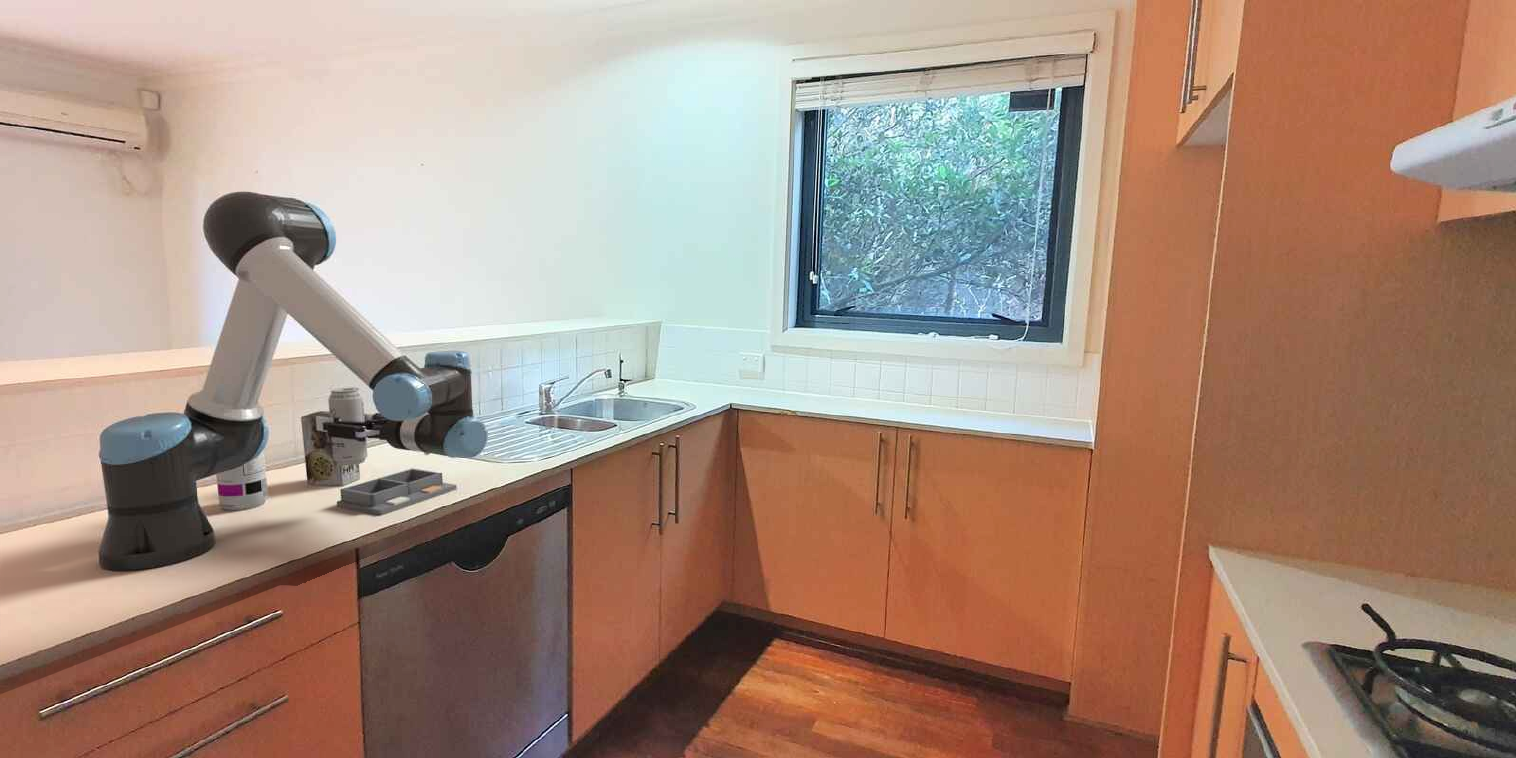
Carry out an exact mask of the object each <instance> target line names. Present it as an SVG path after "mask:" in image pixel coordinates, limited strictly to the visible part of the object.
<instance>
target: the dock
mask: <svg viewBox="0 0 1516 758" xmlns="http://www.w3.org/2000/svg"><path fill="white" fill-rule="evenodd" d="M443 479H444V478H443V473H442V472H438V471H437V472H436V471H430V470H424V469H419V468H410V469H406V470H404V471H403V470H402V471H399V472H396V473H392V474H389V475H385V476H382V477H379V478H375V479H372V480H368V481H365V482H361V483H358V484H357V483H356V484H354V485H351V486H347V487H344V488H340V500H337V501H336V507H339V508H344V509H349V510H355V511H359V512H365V513H369V514H373V515H378V516H384V515H386V514H389V513H391V512H395V511H398V510H400V509H403V508H407V507H409V506H412V505H415V504H418V503H420V502H423V501H427V500H429V499H432V498H435V497H438V495H439V496H441V495H444V494H447V493H450V492H452V491H451V490H453V491H456V490H458V487H457V484H453V483H447V482H443ZM455 489H456V490H455ZM449 491H450V492H449ZM446 492H447V493H446Z"/></svg>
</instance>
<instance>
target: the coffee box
mask: <svg viewBox="0 0 1516 758" xmlns="http://www.w3.org/2000/svg"><path fill="white" fill-rule="evenodd" d="M319 416H320V417H327V418H330V413H329V410H327V411H322V410H320V411H317V412H316V411H315V412H312V413H309V414H307V415H302V416H301V417H300V421H301V430H302V431H301V433H302V441H303V453H304V462H305V471H306V474H305V475H306V484H307V485H310V486H313V485H314V486H343V487H344V486H346V485H348V484H351V483H353V482H355V481H358V480H360V479H361V475H360V464H356V465H348V466H341V465H337V462H336V461H334V460H333V449H332V437H328V433H327V432H324V431H317V426H316V417H319Z"/></svg>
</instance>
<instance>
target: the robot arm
mask: <svg viewBox="0 0 1516 758" xmlns="http://www.w3.org/2000/svg"><path fill="white" fill-rule="evenodd" d="M202 230H203V234H204V239H205V241H206V242H207V244H208V247H209V248H210V250H211V252H212V253H213V254H214V255H215V257H217V259H218V260H219V261H220V262H221V264H223V266H224V267H225V268H227V270H229V271H230V272H231V273H232V274H233V275H235V276H236V277H237V278H238V279H237V283H236V287H235V289H234V292H233V295H232V297H231V302H230V303H229V308H228V309H227V310H228V311H227V313H226V317H225V319H224V322H223V325H222V327H221V331H220V334H219V338H218V340H217V343H216V346H215V350H214V353H213V356H212V359H211V362H210V364H209V368H208V371H207V373H206V377H205V379H204V380H205V381H204V383H203V386H202V389H201V390H199V391H197V392H195V393H192V394H190V395H189V396H188V398H187V402H186V405H185V409H184V410H183V413H181V412H168V411H167V412H157V413H149V414H145V415H138V416H133V417H130V418H129V417H128V418H126V419H123V420H119V421H116V422H114V423H112V424H110V425H108V426H107V427H105V429H103V430H102V432H101V433H100V435H99V453H98V458H99V460H100V466H101V471H102V479H103V485H104V492H105V500H106V506H107V507H106V508H107V515H108V516H107V517H108V518H107V521H106V525H105V529H104V532H103V535H102V538H101V540H100V545H99V548H98V553H97V554H98V563H99V566H100V568H102V569H106V570H108V571H109V570H111V571H135V570H136V571H137V570H145V569H152V568H158V567H162V566H167V565H171V564H176V563H180V562H183V561H186V560H189V559H192V558H195V557H198V556H199V555H202V554H204V553H206V552H208V551H209V550H210V549H211V550H212V549H213V548H214V546H215V544H216V536H215V531H214V528H213V527H212V525H211V523H210V521H209V520H208V517H207V516H206V514H205V512H204V511H203V509H202V506H201V505H200V503H199V498H198V487H197V481H200V480H203V479H206V478H209V477H212V476H215V475H216V474H218V473H221V472H224V471H227V470H232V469H235V468H237V467H240V466H242V465H244V464H246V463H248V462H250V461H252V460H253V459H255V458H256V457H257V456H258V455H259V454H260V453H261V452H262V451H263V450H264V449H265V448H266V446H267V444H268V441H269V433H270V432H269V430H270V429H269V426H267V425H266V422H267V420H266V419H265V417H264V413H265V412H264V411H265V410H264V407H262V405H261V404H260V402H259V398H260V395H261V392H262V389H263V386H264V384H265V381H266V379H267V375H268V373H269V369H270V366H271V365H272V360H273V357H274V355H275V352H276V350H277V346H278V343H279V341H280V338H281V334H282V332H283V328H284V326H285V323H286V322H287V321H286V320H287V317H288V315H289V316H290V317H291V318H292V319H293V320H294V321H296V322H297V323H298V324H299V325H300V326H301V327H302V328H303V329H305V330H306V332H308V333H309V334H310V335H311V336H312V337H313V338H314V339H315V340H316V341H317V342H318V343H320V344H321V345H322V346H323V347H324V348H325V349H326V350H328V352H330V353H331V354H332V355H333V356H334V357H335V358H336V359H337V360H338V361H340V362H341V363H342V364H343V365H344V366H345V367H346V368H347V369H348V370H350V371H351V372H352V373H353V374H354V375H355V376H356V377H358V379H360V380H361V381H362V382H363V383H364V384H365V385H366V386H367V387H369V389H370V390H372V402H373V403H374V406H375V409H376V410H377V412H376V413H372V412H365V411H364V415H365V422H355V421H341V419H339V417H335V418H327V417H320V416H319V417H316V426H317V431H324V432H327V433H328V437H336V438H344V439H353V440H357V441H361V442H363V441H365V440H366V441H367V439H378V440H381V441H386V442H387V444H389V445H390V446H391V447H392V448H394V449H398V450H401V451H402V450H404V451H412V452H418V453H419V452H420V453H423V454H424V456H428V455H430V454H432V455H433V454H434V455H437V456H438V455H439V456H444V457H449V458H452V459H455V458H457V459H472V458H475V457H476V456H478V455H479V454H481V453H482V452H483V450H484V449H485V447H486V446H487V443H488V438H489V437H488V436H489V434H488V428H487V427H486V425H485V423H484V422H483V421H482V420H481V419H479V418H476V417H474V409H473V392H472V391H473V390H472V372H473V371H472V369H471V363H470V362H471V361H470V356H469V354H468V352H465V351H462V350H438V351H437V350H436V351H430V352H428V353H427V354H426V355H425V357H424V365H423V366H424V367H419V366H417V364H415V363H414V362H413V361H412V360H411V359H410V358H408V356H406V354H404V353H403V352H402V351H401V350H400V349H399V348H398V347H397V346H396V345H395V344H393V342H391V340H389V339H388V338H387V337H386V336H385V335H384V334H383V333H382V332H381V331H379V330H378V328H376V327H375V326H374V325H373V324H372V323H371V322H370V321H369V320H368V319H367V318H365V317H364V315H362V314H361V313H360V312H359V311H358V310H357V309H355V307H354V306H352V305H351V304H350V303H349V302H348V301H347V300H346V299H345V298H344V297H343V296H342V295H340V294H339V293H338V291H336V290H335V289H334V288H333V287H332V286H331V285H330V284H329V283H328V282H327V281H326V280H324V279H323V278H322V277H321V276H320V275H319V274H318V273H317V272H316V271H314V270H315V266H318V265H321V264H323V263H324V262H326V261H328V260H329V259H330V258H331V257H332V255H333V254H334V252H335V250H336V249H335V248H336V244H337V235H336V230H335V227H334V225H333V224H332V222H331V220H330V217H329V216H328V215H327V214H326V212H324V211H323V210H322V209H321V208H320V207H318V206H316V205H315V204H312V203H310V202H306V201H303V200H300V199H298V198H294V197H285V196H278V195H268V194H263V193H258V192H251V191H235V192H229V193H227V194H223V195H222V196H220V197H219V198H217V199H216V200H214V201H213V202H212V203H211V204H210V205H209V207H208V208H207V210H206V212H205V214H204V217H203V224H202Z"/></svg>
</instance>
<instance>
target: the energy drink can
mask: <svg viewBox="0 0 1516 758" xmlns="http://www.w3.org/2000/svg"><path fill="white" fill-rule="evenodd" d="M330 392H331V393H330V395H329V397H328V399H327V400H328V411H329V413H330V418H335V417H339V419H341V421H355V422H365V415H364V412H365V404H364V396H363V395H362V393H361V391H360V388H359V387H340V388H339V387H338V388H334V389H330ZM367 443H368V441H367V439H366V440H365V441H363V442H361V441H357V440H353V439H344V438H336V437H332V449H333V460H334V461H336V462H337V465H341V466H348V465H356V464H359V465H360V464H363V463H365V462H366V459H367V457H368V455H369V454H368V444H367Z"/></svg>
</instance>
